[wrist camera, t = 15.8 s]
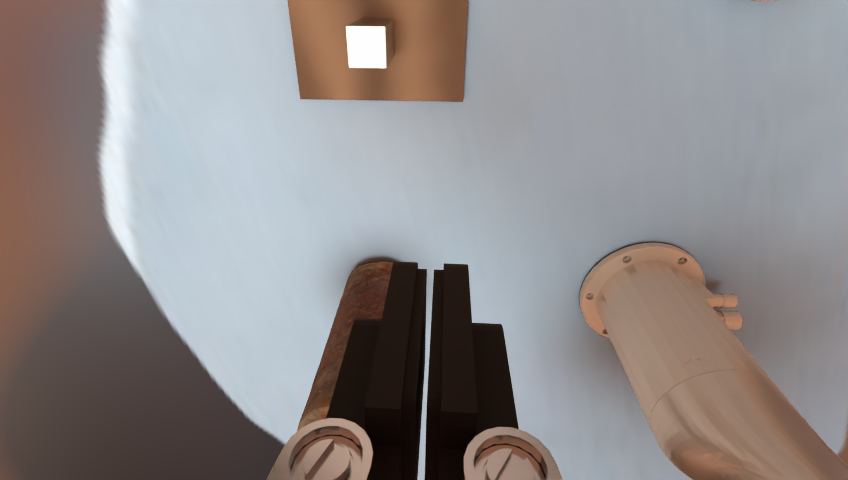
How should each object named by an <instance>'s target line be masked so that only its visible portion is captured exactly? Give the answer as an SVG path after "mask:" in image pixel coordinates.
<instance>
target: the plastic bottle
mask: <svg viewBox="0 0 848 480" xmlns="http://www.w3.org/2000/svg"><path fill="white" fill-rule="evenodd" d="M752 1H758V2H768V1H777V0H752Z"/></svg>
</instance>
